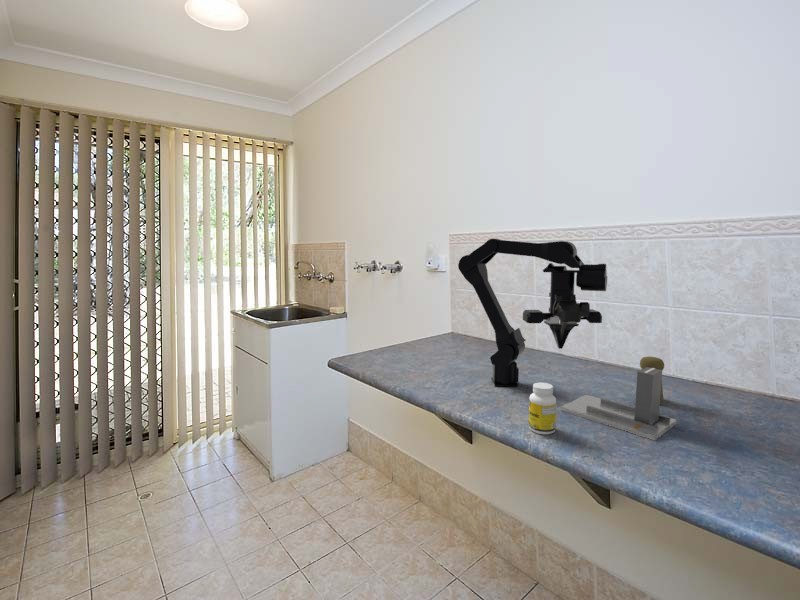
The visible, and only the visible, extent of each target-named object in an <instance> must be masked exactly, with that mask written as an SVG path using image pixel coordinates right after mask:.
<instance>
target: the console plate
mask: <svg viewBox="0 0 800 600" xmlns="http://www.w3.org/2000/svg"><path fill="white" fill-rule="evenodd" d="M560 409H561V411H562V412H565V413H567V414H570V415H575V416H577V417H580V418H583V419H587V420H590V421H593V422H596V423H599V424H601V423H602V425H605V426H608V425H609V426H608V427H611V426H612V427H611V428H614V427H615V428H614V429H617V428H618V430H620V429H622V430H621V431H623V430H625V431H624V432H626V431H628V432H627V433H629V432H630V434H632V433H633V434H634V435H635V434H636V436H639V437H642V438H645V437H646V438H645V439H648V438H649V440H651V439H652V441H654V440H655V441H657V440H658V439H659V438H660V437H661V435H662V436H663V435H664V434H665V433H666V432H668V431H669V430H671V429H672V428H673V427H675V425H677V419H676V418H671V416H668V415H664V414H661V413H659V420H657V421H656V422H654V423H653V424H649V423H645V422H642V421H639V420H635V419H634V417H635V406H631V405H627V404H624V403H621V402H620V403H619V402H618V401H617V402H616V401H613V400H610V399H606V398H599V397H596V396H592V395H589V394H585V395H583V396H580V397H578V398H576V399H574V400H571V401H569V402H568V403H565V404H564V405H561V407H560ZM658 437H659V438H658ZM657 438H658V439H657Z"/></svg>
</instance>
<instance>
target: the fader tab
mask: <svg viewBox="0 0 800 600" xmlns="http://www.w3.org/2000/svg"><path fill="white" fill-rule="evenodd" d="M661 381H662V382H663V370H659V369H655V368H649V367H646V368H644V369H642V368H641V369H639V370H638V371H637V372H636V388H635V405H634V407H635V417H634V419H635V420H639V421H642V422H645V423H649V424H653V423H654V422H656V421H657V420H659V414H660V406H661V404H660V395H661Z"/></svg>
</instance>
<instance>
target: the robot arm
mask: <svg viewBox="0 0 800 600" xmlns="http://www.w3.org/2000/svg"><path fill="white" fill-rule="evenodd" d="M497 254H506V255H516V256H526V257H535V258H539V259H541V260H544V261H547V262H549V263H548V265H547V266H546V267H545V268H544V269H542V272H543V273H550V292H548V296H549V307H548V312H543V311H541V310H539V309H525V310H523V312H522V320H523V321H524V322H525V323H527V324H541V323H542V322H543V321H544V322H543V323H544V324H546V325H547V326H548V327H549V329H550V330H551V333H552V335H553V338H554V341H555V342H556V343H555V344H556V346H557V349H559V350H560V349H561V350H562V349H563V347H564V345H565V343H566V341H567V339H568V336H569V334H570V333H571V331H572V330H573V329H574V328H575V327H579V323H581V321H582V320H583V321H584V320H586V321H587V322H588V323H589V324H601V323H603V315H602V313H601V312H600V311H598V310H595V309H593V308H592V309H591V308H590V307H591V306H590V303H589V302H587V301H581V302H577V297H576V294H575V285H576V287H578V288H580V291H584V292H585V291H587V292H588V291H589V292H592V291H593V292H607V286H608V274H607V264H606V263H598V264H594V263H593V264H592V263H591V264H585V263H584V262H583V260H582V259H581V258H580V256H579V255H578V249H577V246H576V245H575V244H574V243H573V242H571V241H565V240H559V241H549V242H538V243H537V242H529V241H518V240H517V241H515V240H504V239H499V238H489V239H487V240H486V241H485V242H484V243H483V244H482V245H480V246H479V247H477V248H476V249H474V250H473V251H471V252H470V253H469V254H466V255H463V256H462V257H460V259H459V260H458V261H459V262H458V264H457V267H458V270H459V272H460V274H461V275H462V276H463V277H464V279H465V280H466V281H467V282H468V283H469V284H470V285H471V286H472V287H473V289H474V291H475V294H477V297H478V299H479V301H480V303H481V305H482V307H483V309H484V312H485V314H486V316H487V318H488V320H489V322H490V324H491V327H492V328H493V330H494V334H495V344H496V347H497V350H496V352H495V353H493V354H492V355H491V356H490V358H489V359H490V362H491V365H492V376H491V378H490V380H491V382H492V384H493V385H494V386H495V387H519V386H518V385H519V384H518V383H519V375H520V374H519V367H518V364H517V362H516V361H517V360H518V358H519V357H520V356H521V355H522V354H523V353H524V352H525V350H526V344H525V342H526V341H527V340H526V339H525V337H524V336H523V334H522V331H521V329H520V328H519V327H518V328H516V329H514V327H512V325H511V324H510V323H509V321H508V318H507V316H506V315H505V312H504V311H503V307H501V304H500V301H498V300H499V299H497V296H496V294H495V292H494V289H493V288H492V285H491V284H490V282H489V276H488V269H487V264H488V263H489V262H491V261H492V259H493V258H494V257H495V256H496V255H497ZM553 263H555V264H557V265H554V264H553ZM558 264H559V265H558ZM562 264H563V265H562ZM567 267H568V268H570V269H567ZM575 274H576V277H575Z"/></svg>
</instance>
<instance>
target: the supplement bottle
mask: <svg viewBox="0 0 800 600" xmlns="http://www.w3.org/2000/svg"><path fill="white" fill-rule="evenodd" d="M528 403H529V404H528V405H529V406H528V427H529V430H530V431H531V432H533V433H536V434H537V435H538V434H539V435H551V434H553V433H555V432H556V425H557V424H556V422H557V421H556V419H557V418H556V417H557V398H556V397H555V395H554V386H553V385H552V384H551V383H547V382H534V383H533V385H532V393H530V395H529V400H528Z"/></svg>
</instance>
